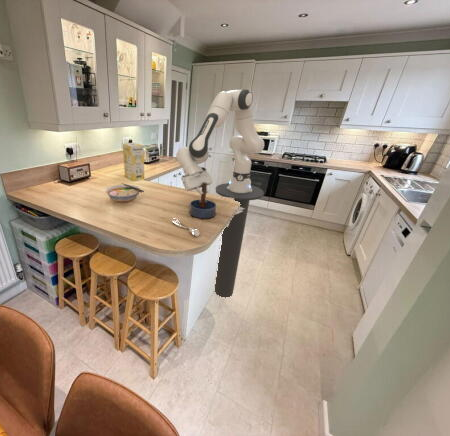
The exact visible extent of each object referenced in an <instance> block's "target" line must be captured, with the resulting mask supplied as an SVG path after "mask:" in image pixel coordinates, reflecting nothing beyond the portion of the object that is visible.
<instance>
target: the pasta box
mask: <svg viewBox="0 0 450 436" xmlns="http://www.w3.org/2000/svg"><path fill="white" fill-rule="evenodd" d="M144 151H145V149H144V145H143V144H140V143H137V142H126V143H122V156H123V168H124V177H126V178H128V179H129V180H131V181H133V182H135V181H141V180H145V178H146V177H145V155H144V154H145V152H144Z"/></svg>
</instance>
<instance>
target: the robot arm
mask: <svg viewBox="0 0 450 436" xmlns="http://www.w3.org/2000/svg"><path fill="white" fill-rule="evenodd" d="M253 100H254V95H253V93H252V91H251V90H250V89H233V90H232V89H231V90H228V91H220V92H219V93H217V95H216V96H215V98H214V99H213V101H212V103H211V104H210V107H209V109H208V111H207V114H206V117H205V119H204V122H203V123H202V125H201V127H200V129H199V131H198V133H197V135H196V136H195V137H194V138H193V139H192V140H191V141H190V143H189V145H188V146H182V147H180V148H179V149H178V150H177V152H176V154H175V155H176V160H177V162H178V164H179V167H180V168H182V170H183V173H184V175H182V176H181V178H180V179H181V182H182V184H183V187H184V189H185V191H187V192H190V191H194V190H195V191H196V193H199V195H200V196H201V195H203V194H204V192H203V191H202V182H206V183H207V186H210V185H211V184H213V182H214V179H213V178H212V176H211V174H210V173H209V171H208V169H207V168H206V167H205V166H200V164H202V163H204V162H206V161H207V160H208V159H209V154H210V153H209V139H210V138H211V136H212V134H213V131H214V129H215V128H220V127H222V126H223V124H224V123H225V122H226V120H227V118H228V115H229V113H230V112H234V113H233V114H234V123H235V130H236V132H237V133H239V134H236V135H233V136H232V137H231V138H230V140H229V148H230V149H231V151H232V153H233V155H234V156H233V157H234V169H233V172H232V177H231V178H230V179H229V182H228V183H230V184H229V186H228V187H227V188H226V189H229V190H230V191H232V192H236V193H248V192H252V188H251V185H252V179H251V168H252V160H251V158H250V157H249V156H248V154H250V155H257V154H258V155H259V154H261V153H262V152H263V150H264V148H265V141H264V139H263V138H261V137H260V135H259V134H258V132H257V130H256V127H255V122H254V111H253V102H254V101H253ZM206 194H209V189H208V188H207V189H206Z"/></svg>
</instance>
